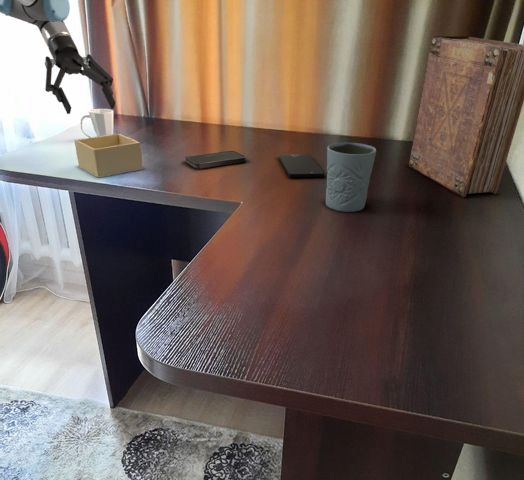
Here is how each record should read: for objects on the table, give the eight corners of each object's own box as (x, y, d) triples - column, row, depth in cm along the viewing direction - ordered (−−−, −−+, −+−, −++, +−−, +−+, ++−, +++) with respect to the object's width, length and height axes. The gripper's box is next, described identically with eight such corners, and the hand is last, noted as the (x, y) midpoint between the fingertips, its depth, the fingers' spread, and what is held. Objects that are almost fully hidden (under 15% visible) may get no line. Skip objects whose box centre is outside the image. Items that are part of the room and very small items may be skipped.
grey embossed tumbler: (329, 213, 107) (336, 155, 100) (316, 197, 115) (321, 142, 108) (375, 211, 108) (384, 153, 101) (358, 195, 116) (366, 140, 109)
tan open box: (98, 177, 122) (93, 149, 119) (78, 166, 129) (73, 139, 126) (143, 169, 129) (140, 142, 125) (122, 159, 136) (118, 133, 132)
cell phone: (309, 157, 141) (309, 153, 140) (324, 177, 126) (324, 173, 126) (278, 157, 140) (278, 154, 139) (289, 177, 125) (289, 174, 125)
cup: (120, 141, 150) (116, 112, 146) (85, 144, 147) (80, 114, 142) (114, 136, 155) (110, 107, 151) (81, 139, 152) (76, 109, 147)
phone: (247, 157, 136) (196, 164, 129) (247, 161, 136) (196, 169, 130) (233, 150, 141) (183, 156, 134) (233, 154, 142) (184, 161, 135)
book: (497, 194, 119) (540, 47, 102) (463, 197, 117) (502, 47, 99) (437, 164, 139) (466, 36, 121) (407, 166, 137) (432, 36, 119)
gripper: (97, 51, 158) (127, 111, 158) (16, 55, 145) (48, 121, 144) (102, 32, 152) (133, 95, 151) (17, 35, 138) (51, 104, 138)
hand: (92, 108), depth 148 cm, fingers open, 13 cm apart
